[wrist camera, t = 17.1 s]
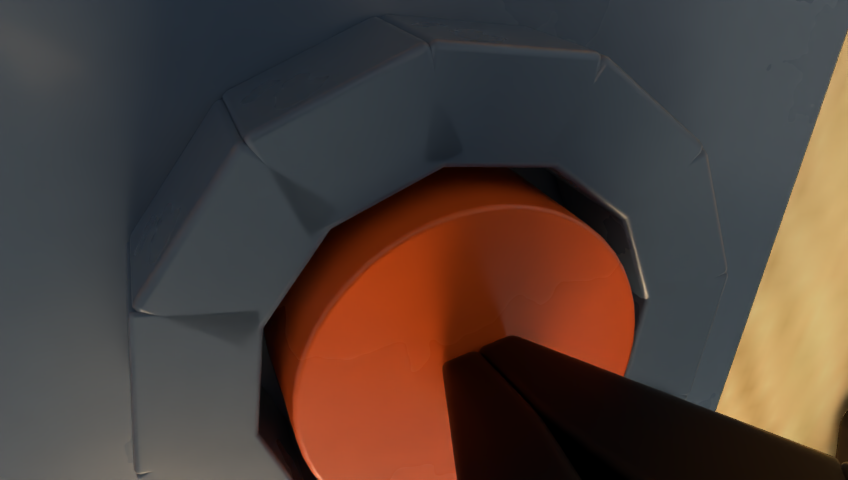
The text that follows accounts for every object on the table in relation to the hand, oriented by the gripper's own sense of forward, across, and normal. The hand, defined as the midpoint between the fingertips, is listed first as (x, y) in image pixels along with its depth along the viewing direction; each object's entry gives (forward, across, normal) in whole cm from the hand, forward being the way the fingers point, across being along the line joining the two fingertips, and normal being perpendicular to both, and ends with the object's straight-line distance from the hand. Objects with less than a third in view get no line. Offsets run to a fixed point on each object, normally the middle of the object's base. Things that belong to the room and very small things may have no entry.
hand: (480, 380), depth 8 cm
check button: (+2, 0, 0) cm, 2 cm away
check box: (+4, 0, 0) cm, 4 cm away
